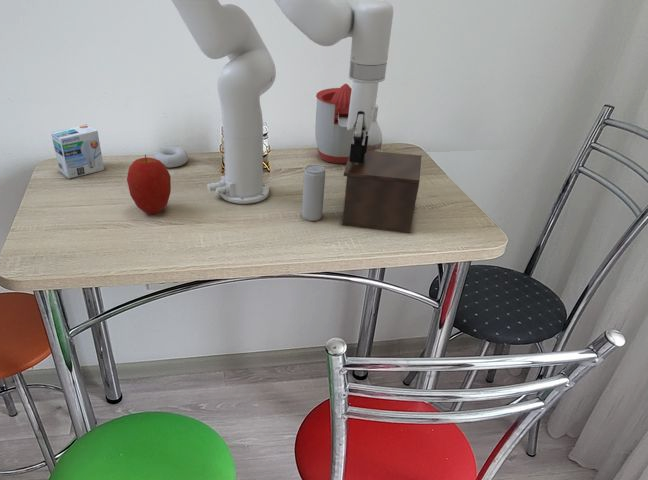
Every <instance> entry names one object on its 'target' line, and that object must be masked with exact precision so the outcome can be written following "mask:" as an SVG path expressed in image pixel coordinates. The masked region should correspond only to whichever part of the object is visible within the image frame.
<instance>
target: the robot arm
mask: <svg viewBox="0 0 648 480" xmlns="http://www.w3.org/2000/svg"><path fill="white" fill-rule="evenodd" d="M171 2H172V4H173V5H174V7H175V9H176V11H177V12H178V14H179V16H180V17H181V19H182V21H183V23H184V24H185V26H186V28H187V29H188V32H189V33H190V34H191V36H192V38H193V39H194V41H195V44H196V45H197V46H198V48H199V49H200V51H201V52H202V54H203V55H204V56H206V57H207V58H209V59H211V60H219V59H223V58H225V57H227V58H228V59H229V61H228V62H227V63H226V64H225V65H224V66H223V67H222V69H220V72H219V74H218V78H217V94H218V98H219V103H220V108H221V109H220V110H221V117H222V118H221V120H222V134H223V135H222V136H223V155H224V156H223V158H224V159H223V160H224V175H221V179H219V180H218V182H211V183H207V184H206V189H207V191H208V192H215V193H216V194H217V195H219V196H220V198H222V199H223V200H224V201H227V202H230V203H233V204H241V205H248V204H255V203H259V202H262V201H264V200H265V199H267V198H268V197H269V196H270V188H269V186H268V185H267V184H266V183H264V120H263V111H262V108H261V101H260V100H261V99H260V98H261V96H262V95H264V94H265V93H266V92H268V91H269V90H270V89H271V88H272V87H273V85H274V82H275V79H276V76H277V75H276V74H277V69H276V65H275V61H274V59H273V57H272V55H271V53H270V51H269V49H268V48H267V45H266V44H265V42H264V40H263V39H262V37H261V35H260V32H259V31H258V29H257V27H256V25H255V24H254V22H253V21H252V19H251V17H250V16H249V14H247V13H246V10H245V11H244V9H242V7H240V6H238V5H236V4H232V3H226V4H221V2H220V1H219V0H171ZM274 2H275V3H276V5H277V7H278V8H279V10H280V11H281V12H282V13H283V15H284V16H285V17H286V18H287V20H288V21H289V22H290V23H291V24H292V25H293V26H294V27H295V28H296V29H298V30H299V31H300V32H301V33H302V34H303V35H304V36H306V37H307V38H308V39H309V40H310V41H312V43H315V44H316V45H319V46H322V47H332V46H334V45H336V44H338V43H339V42H341V41H342V40H345V39H348V38H351V44H350V45H351V47H350V56H349V57H350V58H349V68H348V79H349V81H352V84H351V88H352V90H351V97H350V106H349V115H348V123H347V130H348V131H350V129H351V130H352V128H353V127H354V130H353V138H352V143H351V149H350V159H349V161H350V162H354V163H363V162H364V156H365V153H366V152H367V144H368V136H367V135H368V131H369V129H370V126H371V123H372V119H373V115H374V110H375V105H376V104H377V97H378V91H379V83H383V82H384V81H385V80H386V74H387V67H388V66H387V64H388V57H389V51H390V50H389V49H390V41H391V35H392V34H391V33H392V27H393V26H392V25H393V20H394V19H393V18H394V6H393V5H392V4H391V3H390V2H388V1H385V0H274Z"/></svg>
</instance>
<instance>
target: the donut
mask: <svg viewBox="0 0 648 480" xmlns="http://www.w3.org/2000/svg"><path fill="white" fill-rule="evenodd" d="M152 158H154V159H157V160H159V161H160V162H162V163H163V164H164V165H165V166H166V168H169V169H171V168H178V167H181V166H183V165H185V164H186V163H187V162H188V161H189V153H188V151H187V150H186V149H185V148H183V147H180V146H174V145H168V146H162V147H160V148H157V149H156V150H155V151H154V152H153V154H152Z"/></svg>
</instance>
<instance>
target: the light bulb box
mask: <svg viewBox="0 0 648 480" xmlns="http://www.w3.org/2000/svg"><path fill="white" fill-rule="evenodd" d="M50 134H51V139H52V143H53V149H54V152H55V157H56V160H57V165H58V171H59V172H60V173H61V174H63V175H64V176H65V177H66V178H67V179H70V180H71V179H75V178H78V177H82V176H85V175H89V174H93V173H97V172H102V171H104V170H105V166H104V161H103V160H104V159H103V154H102V148H101V144H100V138H99V131H98V129H95V128H94V127H92V126H91V125H88V124H83V125H77V126H73V127H67V128H64V129H60V130H55V131H51V132H50Z"/></svg>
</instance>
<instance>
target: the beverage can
mask: <svg viewBox="0 0 648 480" xmlns="http://www.w3.org/2000/svg"><path fill="white" fill-rule="evenodd" d="M325 182H326V168H325V167H324V166H323V165H320V164H308V165H306V166H305V167H304V170H303V188H302V207H301V216H302V218H303V220H305V221H308V222H317V221H319V220H321V219H322V218H323V210H324V199H325V198H324V196H325V186H326V185H325Z"/></svg>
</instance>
